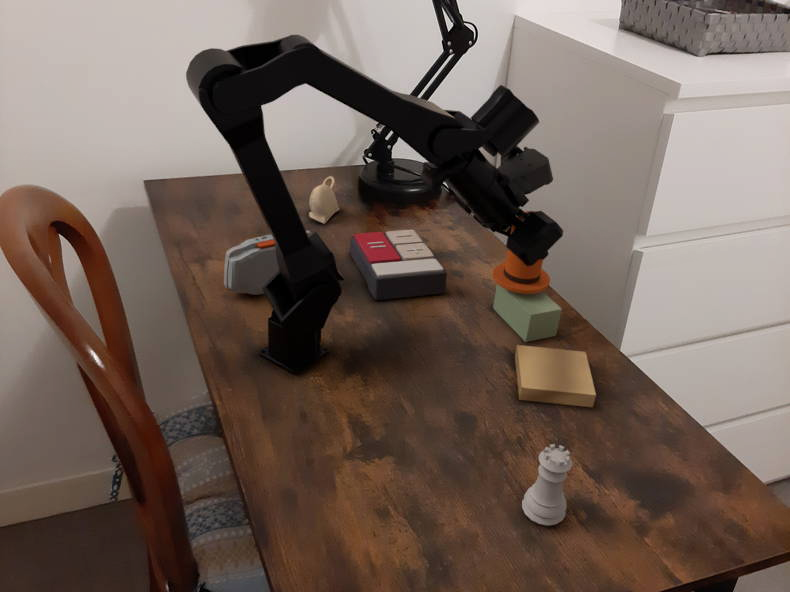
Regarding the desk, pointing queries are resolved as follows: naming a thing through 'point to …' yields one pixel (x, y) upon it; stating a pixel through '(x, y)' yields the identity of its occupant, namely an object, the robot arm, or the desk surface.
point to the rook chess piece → (548, 488)
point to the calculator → (397, 264)
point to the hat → (521, 274)
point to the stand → (554, 376)
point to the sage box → (528, 313)
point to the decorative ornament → (323, 202)
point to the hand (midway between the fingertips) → (535, 247)
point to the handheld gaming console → (251, 265)
